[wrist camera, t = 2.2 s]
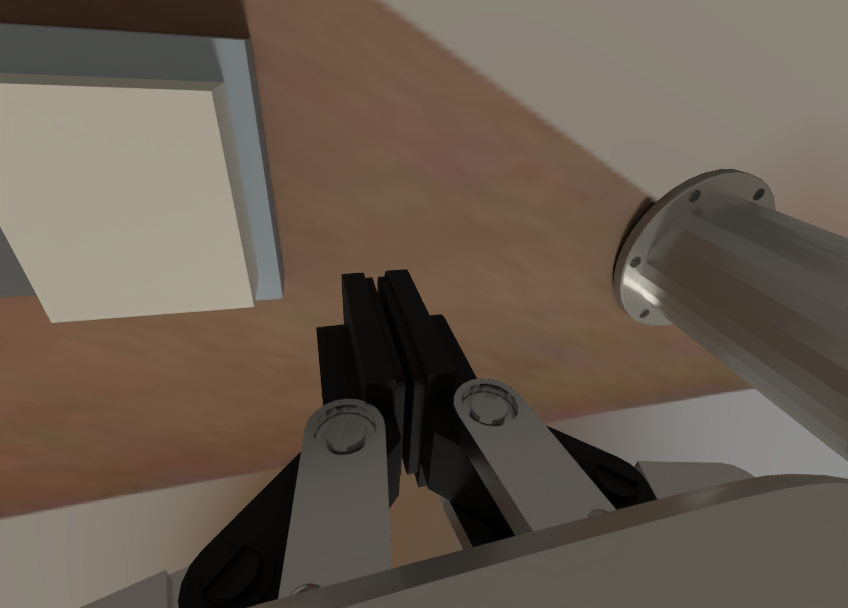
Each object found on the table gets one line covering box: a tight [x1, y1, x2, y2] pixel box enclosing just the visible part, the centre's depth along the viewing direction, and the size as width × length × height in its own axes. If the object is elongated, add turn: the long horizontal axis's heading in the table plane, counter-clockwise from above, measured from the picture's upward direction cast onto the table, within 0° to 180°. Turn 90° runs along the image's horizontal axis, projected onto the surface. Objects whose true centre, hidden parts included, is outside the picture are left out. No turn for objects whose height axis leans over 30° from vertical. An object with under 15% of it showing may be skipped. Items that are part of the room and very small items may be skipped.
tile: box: [0, 73, 259, 323], centre depth 17 cm, size 8×9×3 cm
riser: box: [0, 23, 285, 300], centre depth 19 cm, size 10×12×2 cm
